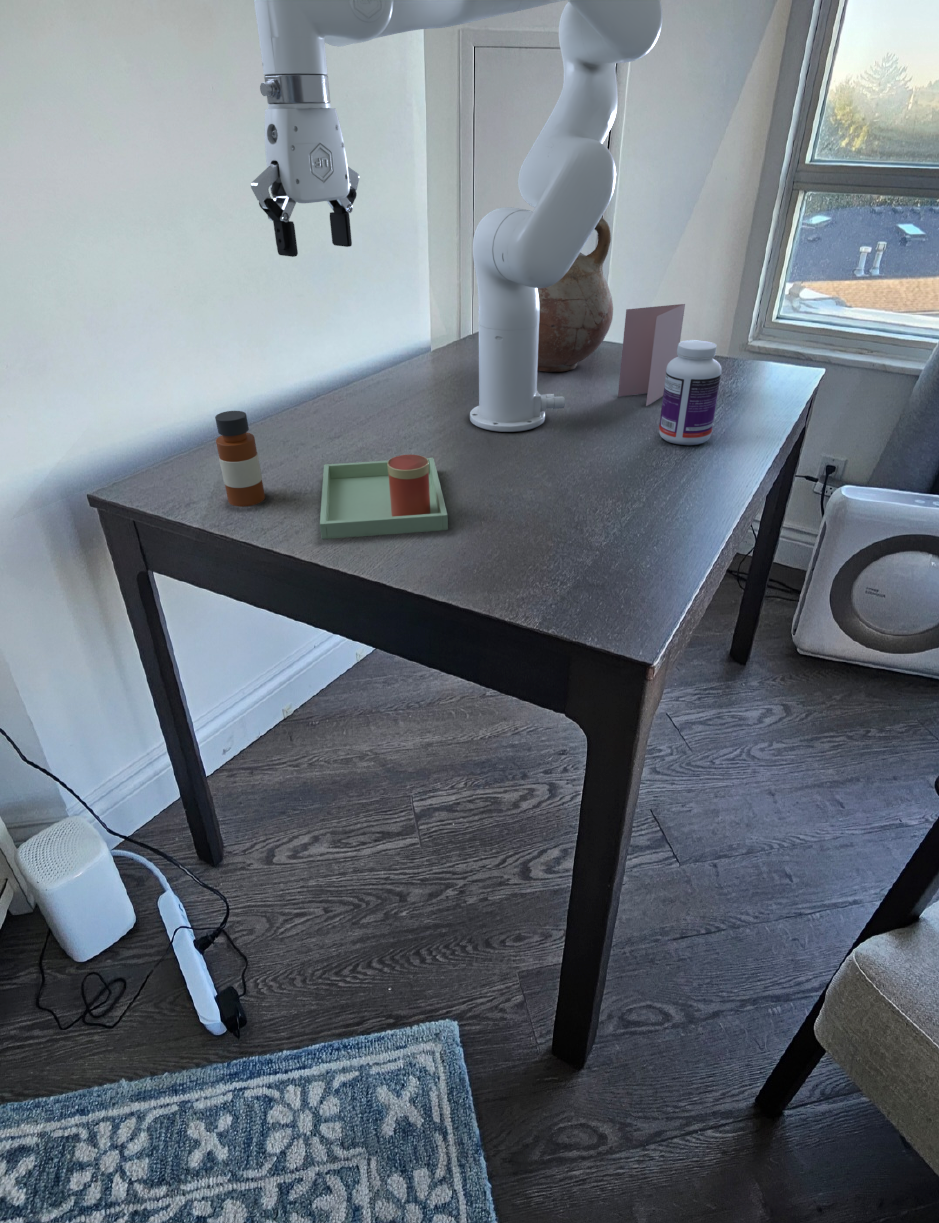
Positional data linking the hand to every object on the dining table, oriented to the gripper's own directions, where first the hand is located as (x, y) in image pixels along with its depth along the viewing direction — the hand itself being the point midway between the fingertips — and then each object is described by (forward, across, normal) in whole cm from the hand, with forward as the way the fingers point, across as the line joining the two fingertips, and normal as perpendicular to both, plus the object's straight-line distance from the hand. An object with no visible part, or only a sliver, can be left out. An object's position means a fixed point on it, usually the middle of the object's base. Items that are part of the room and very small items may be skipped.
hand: (316, 250), depth 100 cm
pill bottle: (+28, +36, -40) cm, 61 cm away
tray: (+28, -10, -18) cm, 35 cm away
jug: (+28, +59, -2) cm, 65 cm away
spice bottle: (+28, -20, -3) cm, 35 cm away
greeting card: (+28, +52, -28) cm, 65 cm away
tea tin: (+28, -10, -24) cm, 38 cm away
